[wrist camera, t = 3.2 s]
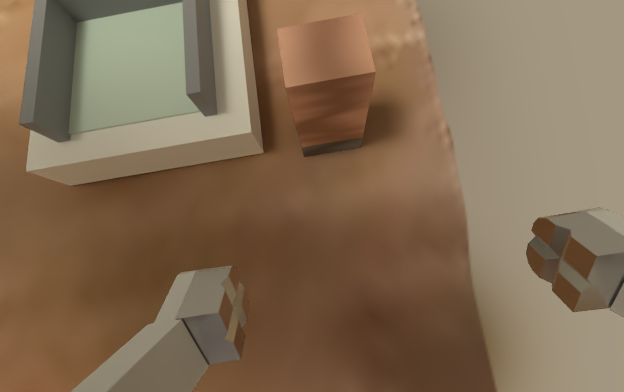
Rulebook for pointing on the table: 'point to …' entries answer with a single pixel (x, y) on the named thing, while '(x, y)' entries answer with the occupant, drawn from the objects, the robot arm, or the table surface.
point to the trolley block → (328, 82)
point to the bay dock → (138, 87)
